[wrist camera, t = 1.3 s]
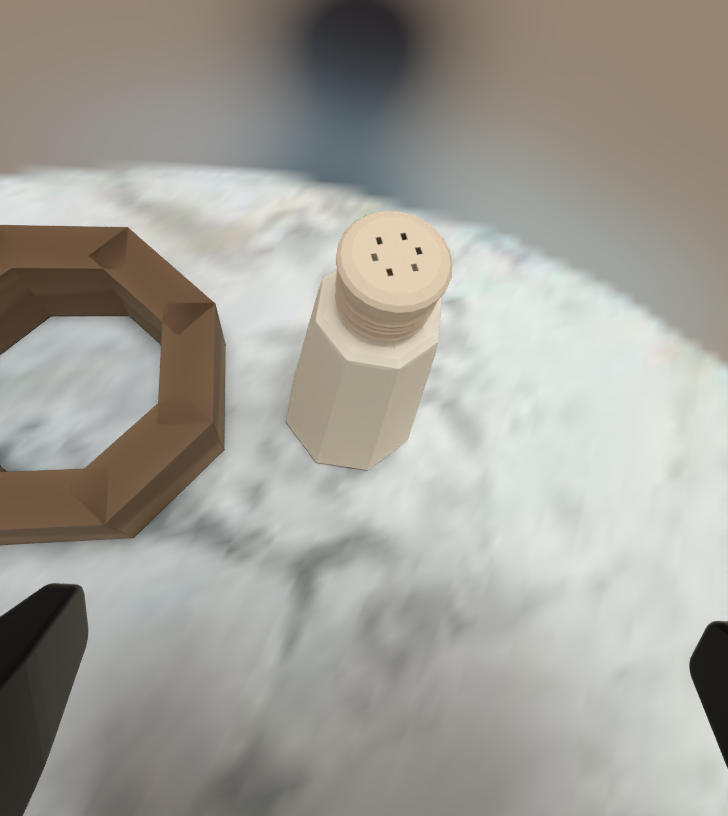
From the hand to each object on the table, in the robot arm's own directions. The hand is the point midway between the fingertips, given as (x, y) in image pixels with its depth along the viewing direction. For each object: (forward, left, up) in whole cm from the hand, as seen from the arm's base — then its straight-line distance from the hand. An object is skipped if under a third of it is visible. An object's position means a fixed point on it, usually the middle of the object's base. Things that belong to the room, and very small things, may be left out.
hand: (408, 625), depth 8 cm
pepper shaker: (+6, +5, -14) cm, 16 cm away
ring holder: (-1, +13, -14) cm, 19 cm away
